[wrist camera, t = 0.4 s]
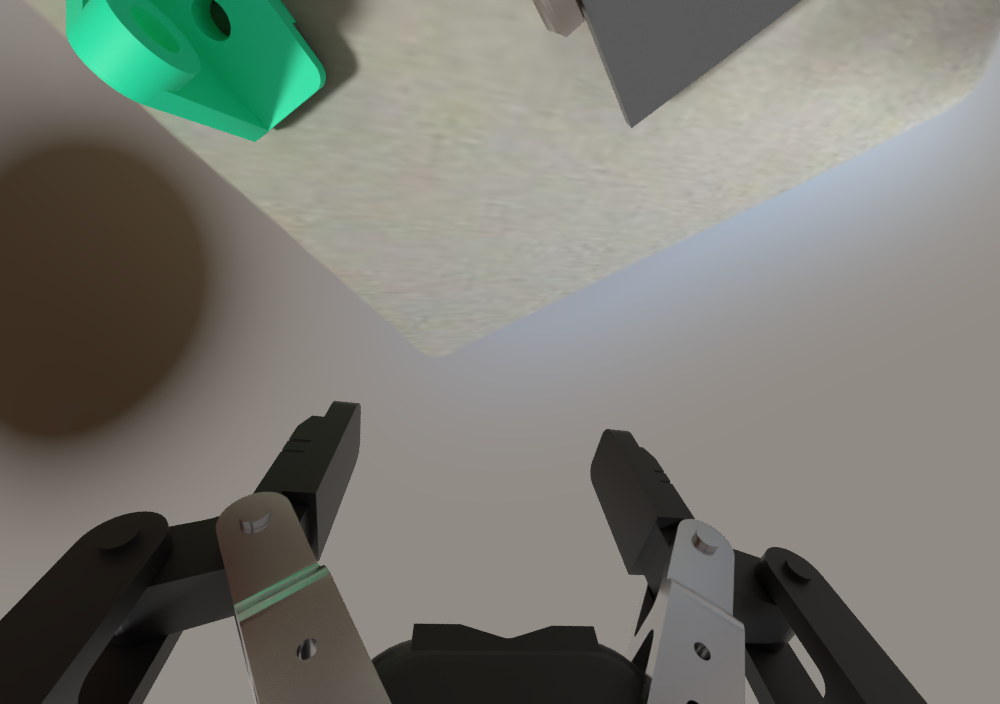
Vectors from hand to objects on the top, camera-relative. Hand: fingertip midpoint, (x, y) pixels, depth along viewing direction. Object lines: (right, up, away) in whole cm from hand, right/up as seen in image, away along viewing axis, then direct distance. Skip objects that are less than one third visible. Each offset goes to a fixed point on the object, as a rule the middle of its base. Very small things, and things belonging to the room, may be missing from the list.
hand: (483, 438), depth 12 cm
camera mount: (-18, +26, +14) cm, 35 cm away
